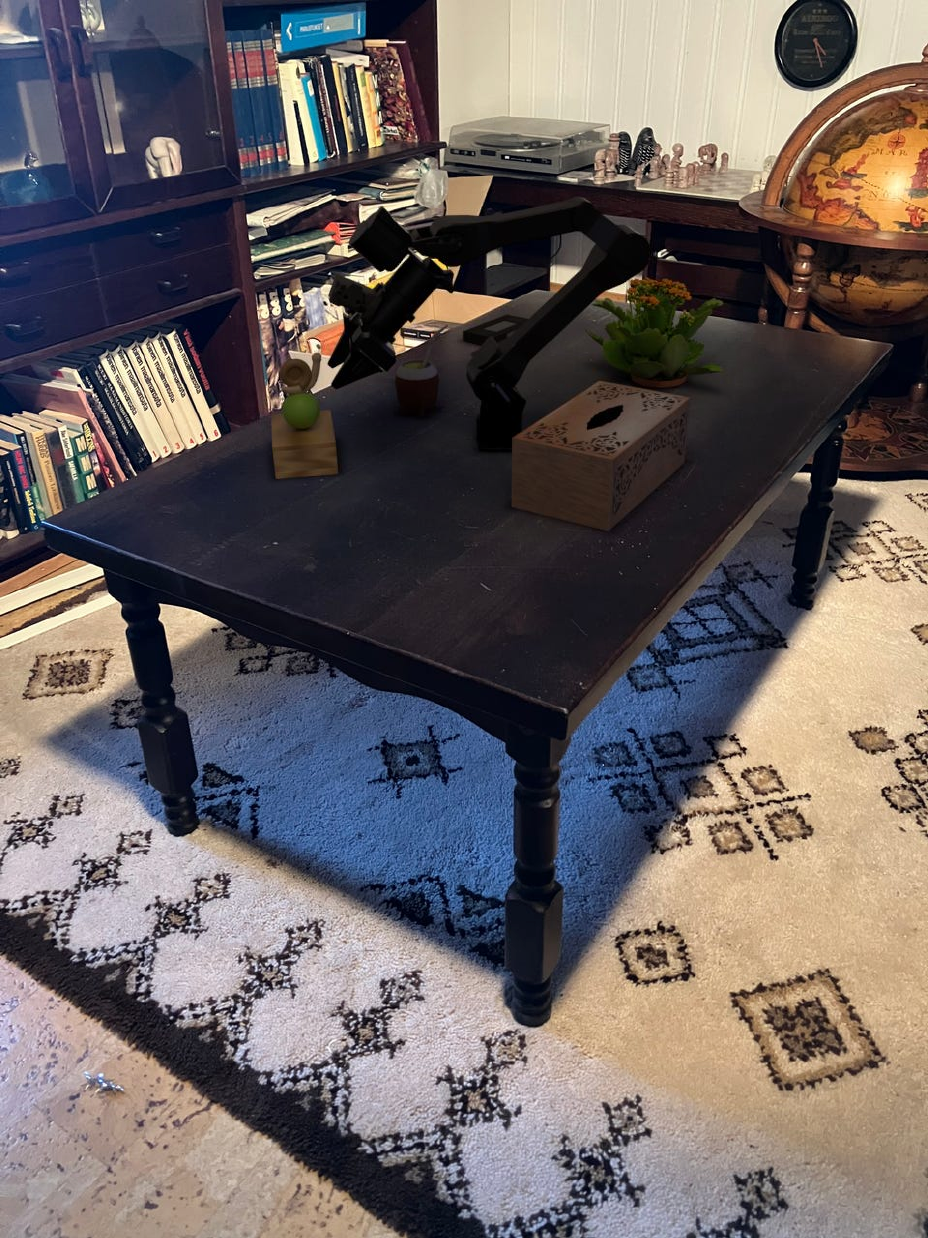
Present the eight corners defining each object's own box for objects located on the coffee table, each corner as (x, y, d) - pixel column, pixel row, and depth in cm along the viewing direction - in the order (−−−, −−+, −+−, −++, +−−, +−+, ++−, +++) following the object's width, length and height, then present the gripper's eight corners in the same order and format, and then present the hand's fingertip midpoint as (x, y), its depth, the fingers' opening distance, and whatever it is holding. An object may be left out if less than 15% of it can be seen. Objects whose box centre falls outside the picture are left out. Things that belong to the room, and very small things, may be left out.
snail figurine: (331, 430, 154) (324, 349, 147) (288, 436, 152) (279, 355, 146) (323, 417, 158) (316, 339, 152) (281, 423, 156) (272, 344, 150)
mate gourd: (392, 407, 176) (387, 317, 168) (437, 401, 178) (434, 312, 170) (404, 422, 170) (399, 330, 162) (450, 416, 172) (448, 325, 164)
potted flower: (759, 386, 181) (773, 283, 172) (657, 416, 170) (667, 307, 161) (658, 351, 199) (666, 255, 190) (561, 375, 188) (564, 275, 179)
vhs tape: (536, 330, 212) (536, 320, 210) (493, 348, 202) (493, 337, 201) (506, 324, 216) (506, 314, 214) (462, 341, 206) (462, 330, 205)
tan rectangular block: (332, 440, 164) (330, 409, 161) (338, 474, 153) (335, 441, 150) (274, 444, 162) (271, 414, 160) (275, 479, 151) (272, 446, 149)
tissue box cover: (608, 531, 136) (612, 459, 131) (511, 506, 143) (512, 437, 137) (684, 462, 154) (691, 397, 149) (595, 443, 161) (599, 380, 156)
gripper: (354, 239, 151) (285, 321, 156) (365, 271, 136) (289, 360, 140) (411, 291, 156) (343, 369, 161) (428, 327, 141) (352, 412, 145)
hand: (331, 376), depth 152 cm, fingers open, 9 cm apart
